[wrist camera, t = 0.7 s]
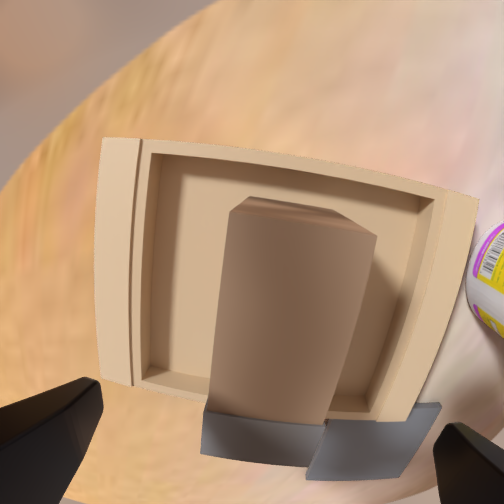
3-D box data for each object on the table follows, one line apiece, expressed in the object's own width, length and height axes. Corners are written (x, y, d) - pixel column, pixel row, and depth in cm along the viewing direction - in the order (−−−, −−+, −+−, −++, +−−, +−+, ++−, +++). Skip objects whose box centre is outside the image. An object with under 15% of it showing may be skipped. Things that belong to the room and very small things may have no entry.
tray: (456, 195, 15) (479, 199, 13) (394, 398, 18) (405, 421, 16) (123, 141, 16) (102, 137, 13) (116, 358, 19) (100, 377, 16)
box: (334, 209, 15) (382, 237, 8) (299, 371, 17) (308, 467, 10) (247, 195, 15) (225, 211, 8) (225, 360, 17) (200, 453, 10)
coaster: (439, 402, 18) (442, 407, 17) (396, 472, 20) (398, 477, 19) (335, 401, 18) (336, 407, 18) (305, 474, 20) (305, 480, 20)
